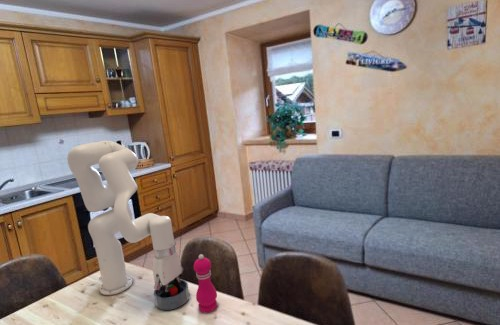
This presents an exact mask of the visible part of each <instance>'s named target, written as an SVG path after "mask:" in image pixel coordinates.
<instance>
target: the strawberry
mask: <svg viewBox="0 0 500 325" xmlns="http://www.w3.org/2000/svg"><path fill="white" fill-rule="evenodd" d="M168 290H169V291H170V294H171V297H172V296H176V295H177V294H178V289H177V287H176V286H174V285H173V284H170V285H169V286H168Z"/></svg>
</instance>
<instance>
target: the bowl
mask: <svg viewBox="0 0 500 325" xmlns="http://www.w3.org/2000/svg"><path fill="white" fill-rule="evenodd" d="M180 280H181V281H180V290H181V293H180V294H179V293H178V294H177V295H176V296H172V297H168V298H164V297H163V291H161V290H155V289H153V297H154V303H155V304H154V305H155V306H156V307H157V308H158V309H160V310H163V311H167V310H168V311H170V310H175V309H177V308H179V307H181V306H183V305H184V304H186V303H187V302H188V301H189V298H190V290H189V283H188V282H187V281H186V280H185V279H181V278H180ZM172 282H174V281H173V280H172V281H170V282H169V283H168V286H169V285H170V284H172ZM160 286H161V283H160ZM164 288H165V285H164Z"/></svg>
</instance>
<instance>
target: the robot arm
mask: <svg viewBox="0 0 500 325" xmlns="http://www.w3.org/2000/svg"><path fill="white" fill-rule="evenodd" d="M66 159H67V165H68V168H69V170H70V171H71V174H72V175H73V176H74V178H75V180H76V182H77V186H78V188H79V191H80V194H81V197H82V200H83V203H84V207H85V208H86V210H87V211H88V212H90V213H98V212H101V211H104V210H106V209H109V208H111V209H110V210H107V211H105V212H103V213H102V212H101V213H100V214H98V215H96V216H93V217H92V218H91V219H90V220H89V222H88V223H87V230H88V233H89V235H90V237H91V240H92V243H93V245H94V250H95V254H96V259H97V263H98V267H99V272H100V276H99V277H98V280H99V281H101V285H100V286H99V290H98V291H99V293H100V294H101V295H103V296H114V295H116V294H120V293H123V292H124V291H126V290H128V289H129V288H130V287H131V286H132V284H133V278H132V277H131V276H129V275H128V273H127V267H126V262H125V257H124V256H125V255H124V252H123V247H122V243H121V241H120V240H119V239H118V238H117V237H116V236H115V234H117V233H120V234H121V236H122V237H123V238H124V240H125V241H126V242H128V243H130V244H135V243H138V242H140V241H142V240H144V239H146V238H147V237H149V236H150V238H151V242H152V249H153V255H154V257H153V258H152V275H153V281H154V285H153V290H161V291H163V297H164V298H168V297H171V294H170V291H169V290H168V283H169V282H170V281H172V280H173V281H174V282H172V284H173V285H174V286H176V287H177V289H178V293H179V294H180V293H181V290H180V281H181V280H182V279H181V278H182V274H184V271H185V269H184V267H183V266H182V261H181V259H180V255H179V253H178V251H177V249H176V245H177V242H176V241H175V237H174V231H173V225H172V219H171V218H170V216H167V215H158V214H156V213H153V212H149V213H148V212H147V213H146V214H144V215H141V216H139V217H137V218H135V219H133V215H132V210H131V208H130V204H129V201H130V199H131V198H132V196H133V195H134V194H135V193H136V192H137V190H138V184H137V182H136V181H135V179H134V177H133V175H132V173H131V172H130V171H133V170H135V169H136V168H137V167H138V165H139V159H138V156H137V155H136V153H135V152H134V151H133V150H131V149H130V148H128V147H126V146H124V145H122V144H120V143H117V142H115V141H114V140H113V141H112V140H100V141H94V142H87V143H83V144H78V145H76V146H74V147H72V148H71V149H70V150H69V152H68V154H67V158H66ZM95 165H98V167H99V169H100V172H101V173H102V175H103V177H104V179H105V181H106V183H105V184H104V181H103V179H102V175H101V174H100V172H99V171H98V170H97V169H95V168H94V167H93V166H95ZM180 279H181V280H180ZM160 284H161V286H160ZM164 285H165V288H164Z"/></svg>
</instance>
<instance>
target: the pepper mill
mask: <svg viewBox="0 0 500 325" xmlns="http://www.w3.org/2000/svg"><path fill="white" fill-rule="evenodd" d="M211 268H212V262H211V260H210V259H209V258H208V257H205V256H204V254H202V253H200V254H199V255H198V258H197V259H195V261H194V263H193V271H194V272H195V275H196V278H197V281H198V286H197V290H196V293H195V299H196V302H197V303H198V309H199V311H200V312H202V313H205V314H206V313H212V312H213V311H215V310H216V309H217V308H218V303H217V298H218V293H217V290H216V287H215V286H214V284H213V282H212V281H211V280H212V279H211V276H212V271H211Z"/></svg>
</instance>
